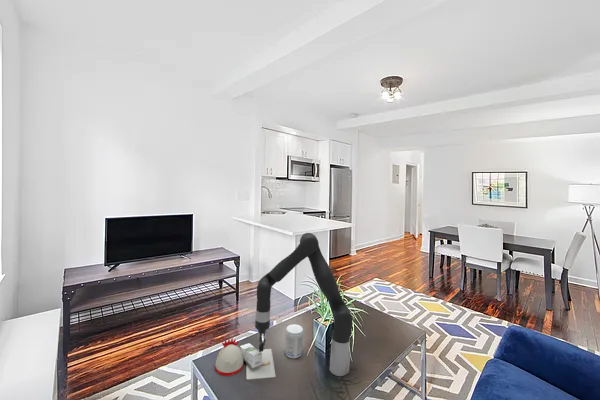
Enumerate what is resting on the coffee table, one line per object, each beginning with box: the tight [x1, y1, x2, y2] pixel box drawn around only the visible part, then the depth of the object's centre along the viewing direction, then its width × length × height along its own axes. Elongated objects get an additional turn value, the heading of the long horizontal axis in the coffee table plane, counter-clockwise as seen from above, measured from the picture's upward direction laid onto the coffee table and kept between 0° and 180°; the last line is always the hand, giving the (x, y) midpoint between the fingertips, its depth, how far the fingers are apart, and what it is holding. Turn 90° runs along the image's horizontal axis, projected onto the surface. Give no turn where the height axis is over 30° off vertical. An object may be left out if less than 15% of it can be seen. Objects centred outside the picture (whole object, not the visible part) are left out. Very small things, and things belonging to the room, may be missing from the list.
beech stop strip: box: [259, 361, 270, 366], centre depth 140 cm, size 10×2×1 cm, turn 102°
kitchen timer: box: [214, 337, 244, 377], centre depth 138 cm, size 14×14×15 cm
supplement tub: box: [284, 323, 304, 359], centre depth 151 cm, size 10×10×15 cm
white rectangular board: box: [245, 348, 277, 381], centre depth 141 cm, size 14×22×1 cm, turn 12°
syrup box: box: [239, 343, 262, 368], centre depth 141 cm, size 6×6×14 cm
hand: (261, 350), depth 138 cm, fingers closed
